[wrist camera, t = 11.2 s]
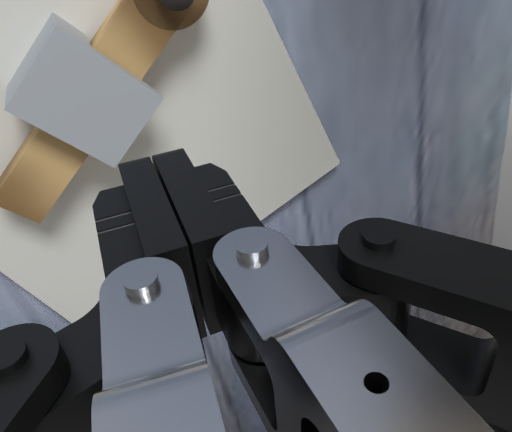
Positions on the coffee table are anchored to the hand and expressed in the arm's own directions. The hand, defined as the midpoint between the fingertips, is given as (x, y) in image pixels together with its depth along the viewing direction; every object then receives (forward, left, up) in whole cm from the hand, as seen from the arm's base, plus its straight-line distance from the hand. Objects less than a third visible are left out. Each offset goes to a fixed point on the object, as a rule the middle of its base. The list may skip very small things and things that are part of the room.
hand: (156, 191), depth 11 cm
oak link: (+1, +3, -20) cm, 20 cm away
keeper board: (+2, +8, -22) cm, 23 cm away
